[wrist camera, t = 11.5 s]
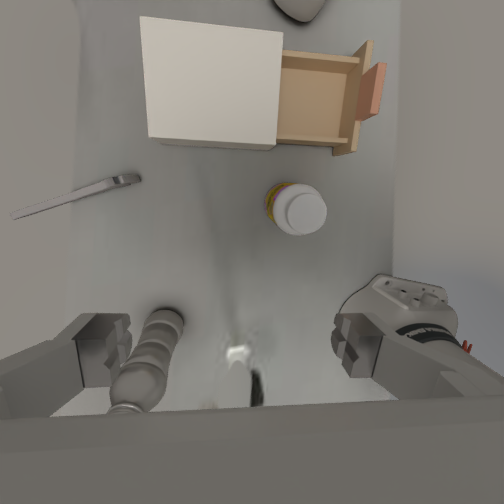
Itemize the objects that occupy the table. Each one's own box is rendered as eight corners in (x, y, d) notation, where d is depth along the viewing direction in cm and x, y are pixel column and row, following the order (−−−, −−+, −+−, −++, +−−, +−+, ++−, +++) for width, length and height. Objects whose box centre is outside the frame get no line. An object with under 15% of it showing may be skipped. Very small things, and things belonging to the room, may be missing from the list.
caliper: (139, 174, 36) (121, 173, 30) (142, 181, 36) (125, 181, 30) (11, 213, 36) (-33, 219, 30) (16, 220, 36) (-27, 227, 30)
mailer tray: (350, 63, 34) (394, 21, 25) (338, 155, 37) (372, 148, 28) (238, 52, 32) (241, 2, 23) (235, 149, 36) (238, 139, 27)
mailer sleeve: (273, 58, 33) (283, 32, 27) (268, 150, 36) (275, 144, 31) (156, 46, 31) (139, 16, 25) (162, 144, 35) (148, 136, 29)
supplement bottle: (274, 175, 37) (297, 172, 25) (309, 193, 39) (347, 199, 27) (256, 213, 39) (269, 227, 27) (290, 229, 40) (317, 250, 28)
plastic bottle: (147, 304, 42) (79, 407, 23) (186, 305, 43) (152, 406, 24) (148, 335, 44) (86, 454, 25) (185, 335, 44) (153, 452, 25)
